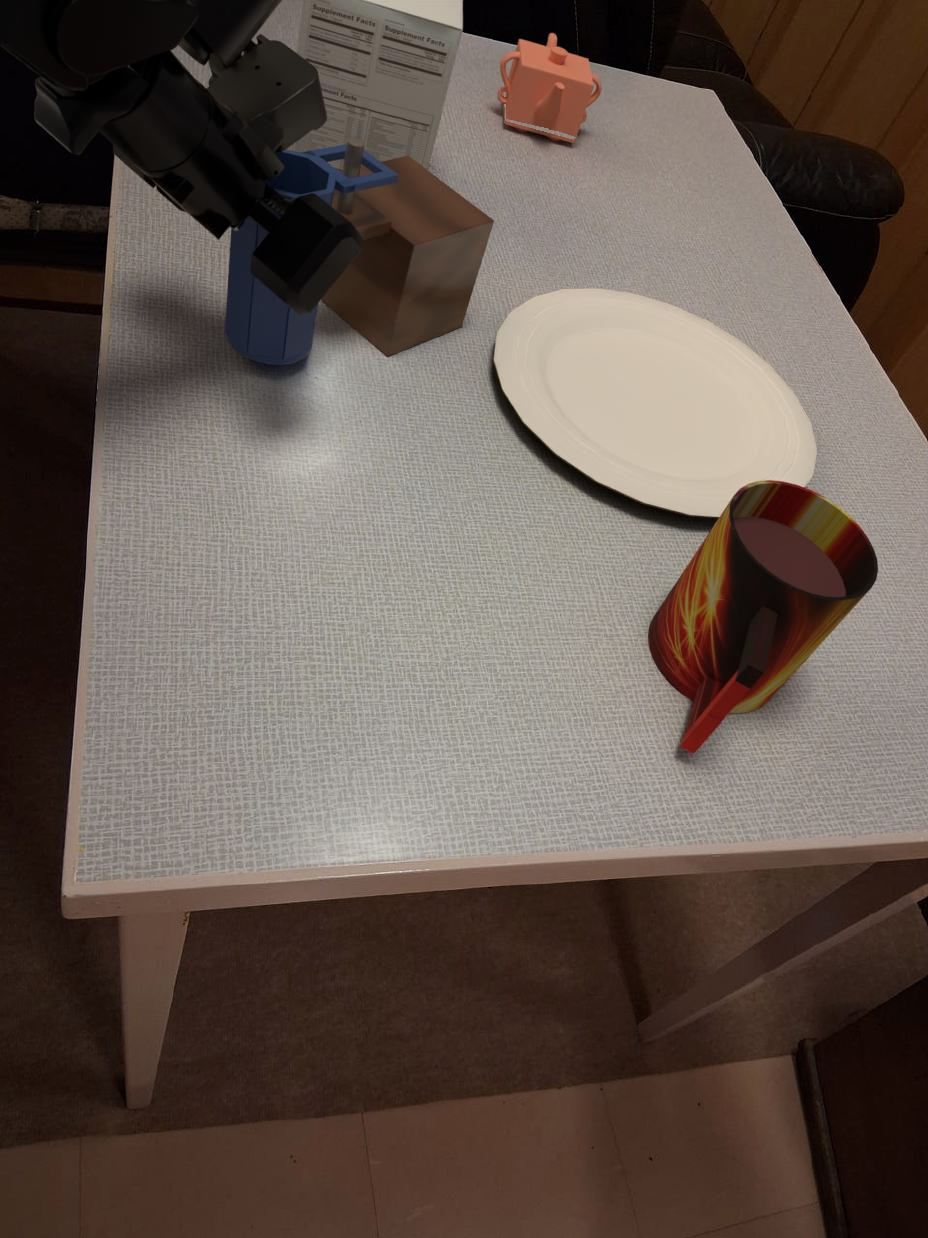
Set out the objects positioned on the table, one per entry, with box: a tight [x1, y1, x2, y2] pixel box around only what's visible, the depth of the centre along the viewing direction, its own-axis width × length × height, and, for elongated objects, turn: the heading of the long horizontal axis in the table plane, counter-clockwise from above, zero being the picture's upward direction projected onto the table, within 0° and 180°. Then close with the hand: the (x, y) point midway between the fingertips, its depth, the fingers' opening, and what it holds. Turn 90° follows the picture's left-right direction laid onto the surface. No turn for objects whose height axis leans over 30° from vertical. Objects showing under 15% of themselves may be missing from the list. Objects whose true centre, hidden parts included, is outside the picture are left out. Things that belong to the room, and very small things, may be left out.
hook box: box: [321, 137, 495, 357], centre depth 75 cm, size 13×10×16 cm
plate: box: [492, 287, 818, 520], centre depth 82 cm, size 29×29×2 cm
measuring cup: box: [224, 144, 398, 366], centre depth 70 cm, size 11×6×13 cm, turn 135°
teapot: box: [496, 32, 602, 144], centre depth 109 cm, size 12×15×8 cm
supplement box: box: [287, 0, 464, 171], centre depth 87 cm, size 13×13×18 cm
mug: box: [647, 480, 879, 755], centre depth 60 cm, size 10×14×12 cm
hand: (293, 255), depth 69 cm, fingers closed on measuring cup, 6 cm apart
